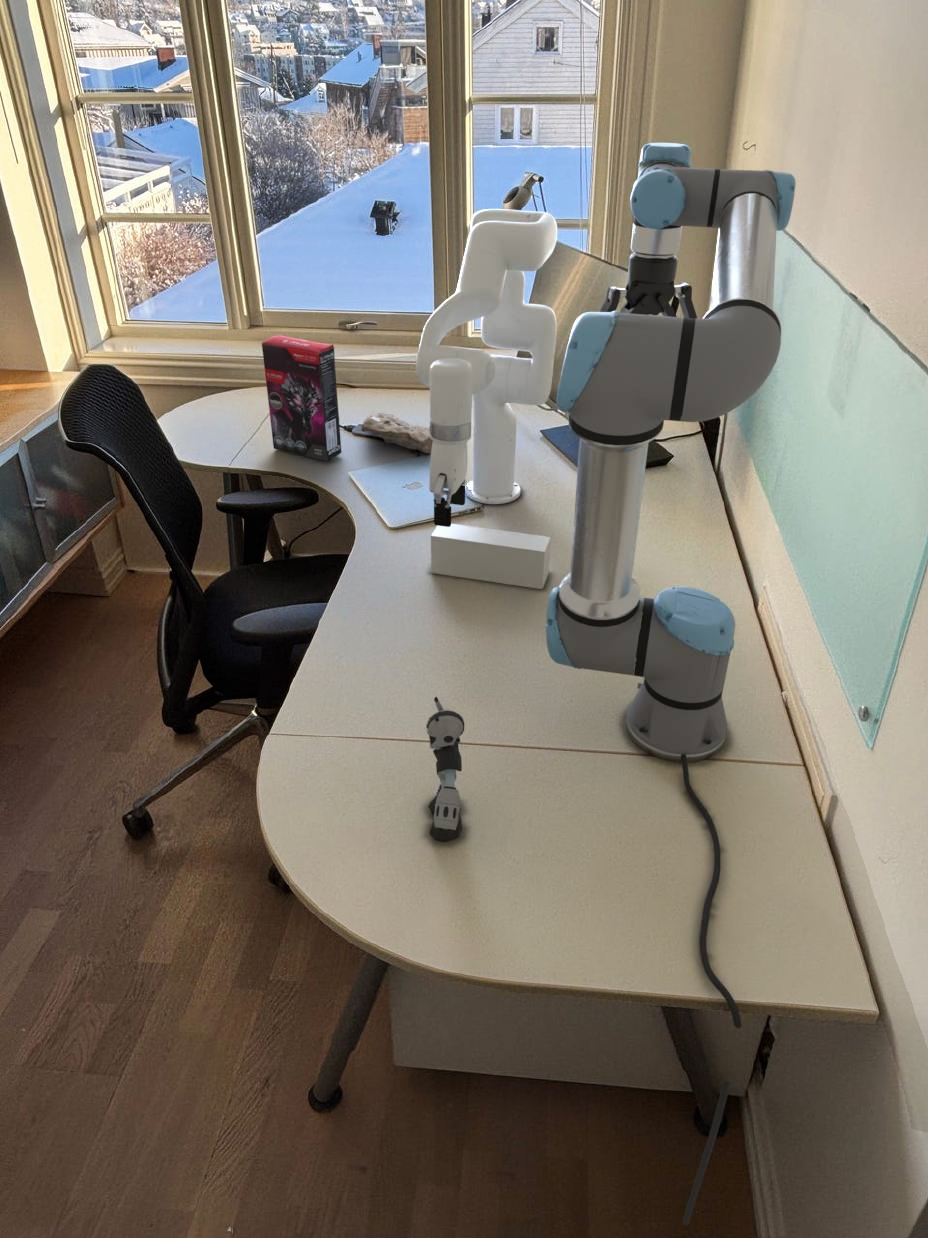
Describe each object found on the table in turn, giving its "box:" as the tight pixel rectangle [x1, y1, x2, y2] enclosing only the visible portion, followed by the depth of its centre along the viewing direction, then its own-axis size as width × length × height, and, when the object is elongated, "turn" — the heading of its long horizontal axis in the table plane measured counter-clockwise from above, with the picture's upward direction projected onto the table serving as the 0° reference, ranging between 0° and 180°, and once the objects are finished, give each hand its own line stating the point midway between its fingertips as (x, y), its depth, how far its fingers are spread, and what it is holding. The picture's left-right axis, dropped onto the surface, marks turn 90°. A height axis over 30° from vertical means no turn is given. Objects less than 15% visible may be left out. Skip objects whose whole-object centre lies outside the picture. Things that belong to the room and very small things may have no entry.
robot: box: [425, 696, 465, 842], centre depth 121 cm, size 20×5×20 cm, turn 3°
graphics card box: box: [261, 334, 342, 462], centre depth 222 cm, size 17×7×27 cm, turn 62°
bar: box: [430, 523, 552, 590], centre depth 180 cm, size 22×6×8 cm, turn 75°
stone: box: [360, 412, 433, 454], centre depth 233 cm, size 21×15×6 cm
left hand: (449, 514), depth 176 cm, fingers open, 9 cm apart
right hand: (638, 386), depth 156 cm, fingers open, 13 cm apart
